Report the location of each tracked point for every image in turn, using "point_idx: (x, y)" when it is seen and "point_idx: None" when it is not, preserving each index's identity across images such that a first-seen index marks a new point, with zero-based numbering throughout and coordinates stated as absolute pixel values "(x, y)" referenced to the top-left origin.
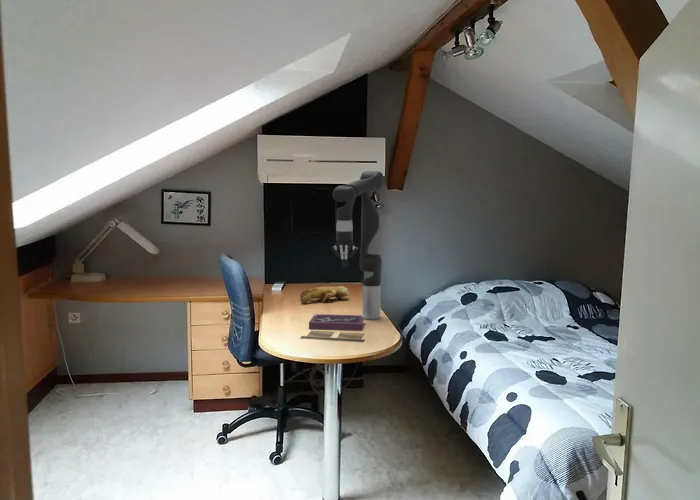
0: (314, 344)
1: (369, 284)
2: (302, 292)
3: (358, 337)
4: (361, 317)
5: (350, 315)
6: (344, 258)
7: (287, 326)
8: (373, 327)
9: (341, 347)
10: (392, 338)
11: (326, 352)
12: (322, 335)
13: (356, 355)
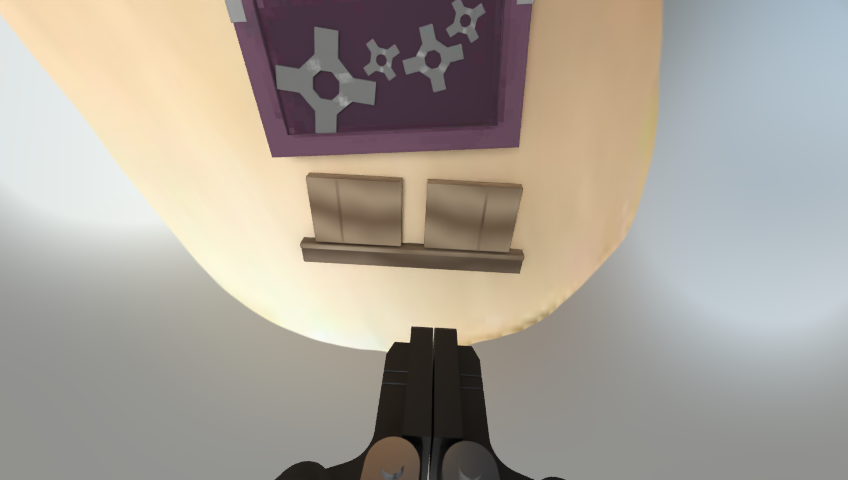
0: (364, 276)
1: None
2: None
3: (501, 231)
4: (516, 4)
5: None
6: (421, 465)
7: (154, 74)
8: (570, 21)
9: (450, 290)
10: (630, 188)
11: None
12: (368, 225)
13: (498, 337)
